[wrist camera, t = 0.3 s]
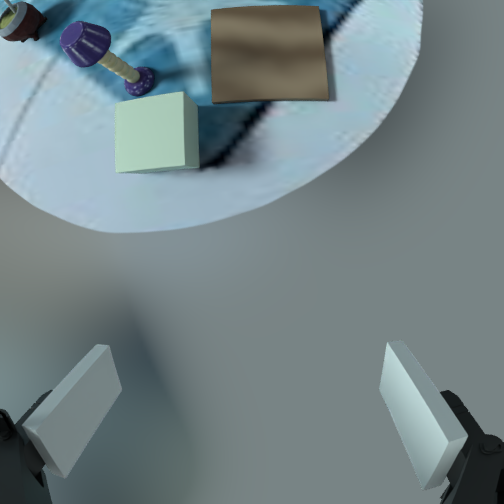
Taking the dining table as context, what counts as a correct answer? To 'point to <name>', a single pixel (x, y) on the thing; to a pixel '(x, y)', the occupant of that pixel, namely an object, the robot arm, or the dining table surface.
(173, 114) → the sage block
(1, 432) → the robot arm
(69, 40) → the toy lamp
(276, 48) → the walnut board
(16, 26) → the mate gourd
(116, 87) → the dining table surface
